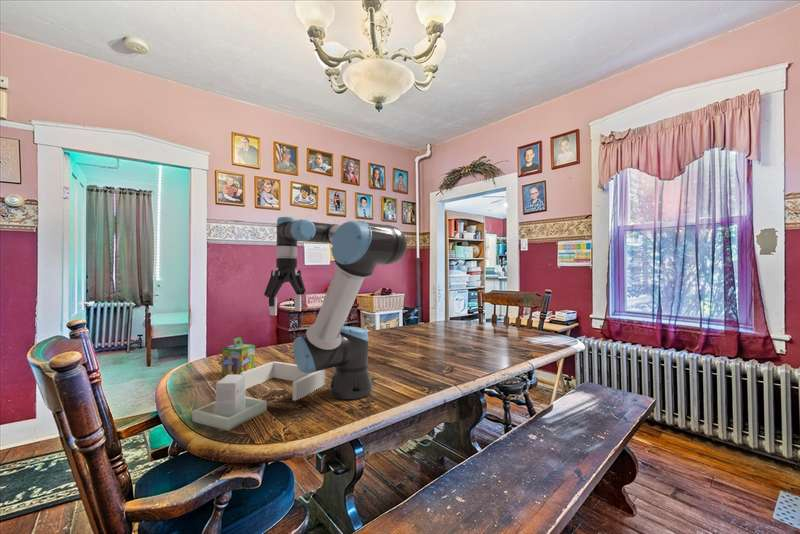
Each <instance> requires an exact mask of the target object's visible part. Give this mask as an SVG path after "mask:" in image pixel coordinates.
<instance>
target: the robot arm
mask: <svg viewBox="0 0 800 534" xmlns="http://www.w3.org/2000/svg"><path fill="white" fill-rule="evenodd" d="M298 242H305V243H307V242H308V243H324V244H330V245H332V246H331V250H330V251H331V255H332V257H333V259H334V260H333V262H334V264H335V270H334V273H333V277H332V278H331V280H330V281H331V282H330V284H329V286H328V288H327V292H326V294H325V296H324V300H323V301H322V304H321V305H320V306H321V307H320V309H319V312H318V314H317V316H316V319H315V322H314V323H313V324H311V325H309V327H308V328H307V329H306V331H305V334H304V336H298V337H296V338H295V340H294V342H293V347H292V349H293V351H292V352H293V358H294V361H295V364H296V365H297V366H298V368H299V369H300V371H302V372H303V373H311V372H313V373H314V372H317V371H321V370H325V371H326V370H328V369H333V368H334V373H333V376H332V379H331V383H330V385H329V394H330V396H331V397H333V398H334V399H340V400H345V399H353V400H359V399H358V398H360V399H363V397H364V398H366V397H369V396H370V395H371V394H372V393H371V392H373V383H372V378H371V376H370V373H369V366H368V365H369V342H370V341H369V332H368V330H366V329H365V328H362V327H357V326H347V325H345V323H346V321H347V318H348V317H349V314H350V312H351V310H352V307H353V305H354V303H355V300H356V298H357V296H358V294H359V291H360V289H361V288H362V284H363V282H364V280H365V279H366V278H369V277H371V276H373V275H372V274H373V272H374V271H375V268H376V267H377V265H392V264H395V263H397V262H399V261H400V260H401V259H402V258H403V257H404V256H405V254H406V252H407V250H408V249H407V248H408V241H407V238H406V236H405V234H404V232H403V231H402V230H401V229H399V228H398V227H396V226H393V225H391V224H390V225H389V224H380V223H372V222H365V221H363V220H357V221H356V220H352V221H351V220H350V221H349V220H348V221H346V222H343V223H342V224H338V223H337V224H336V223H325V222H318V221H311V220H309V219H301V218H300V219H297V218H296V217H293V216H279V217H278V218H277V220H276V257H277V258H276V260H275V261H276V262H275V263H276V268H277V269H278V270H275V269H273V270H271V271H270V278H269V280H268V283H267V285H266V289H265V291H264V294H263V296H265V297H266V298H268V307H269V316H277V315H278V297H276V296H277V295H278V293H279V291H280V289H281V288H282V286H283V284H285V283H289V284H290V285H291V287H292V289H293V291H294V292H295V294H294V312H296V311H297V312H301V311H302V302H303V300H302V299H303V296H304V294H305V293H306V292H307V291H306V287H305V283H304V280H303V278H302V271H301V270H300V269H296V268H297V267H298V258H297V257H298ZM370 393H371V394H370ZM369 394H370V395H369ZM365 396H366V397H365Z"/></svg>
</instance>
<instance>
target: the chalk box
mask: <svg viewBox="0 0 800 534" xmlns="http://www.w3.org/2000/svg"><path fill="white" fill-rule="evenodd" d="M238 341H239V343H237V342H238ZM221 349H222V350H221V351H222V355H221V356H222V360H221V361H222V363H221V364H222V367H221V369H222V370H221V376H224V377H225V376H227V375H240V373H242V372H244V371H247V370H250V369H253V368H256V367H255V366H256V345H255V344H248V343H243V340H242V337H236V338H233V344H230V345H228V346H225V347H222V348H221ZM224 377H223V378H224Z"/></svg>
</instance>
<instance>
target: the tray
mask: <svg viewBox="0 0 800 534" xmlns="http://www.w3.org/2000/svg"><path fill="white" fill-rule="evenodd" d="M267 402H268V401H267V400H264V399H260V398H255V397H250V396H246V395H245V408H244V409H243V410H242V411H241V412H239V413H237V414H235V415H233V416H231V417H229V418H228V417H224V416H220V415H216V400H215V401H212V402H210V403H208V404H205V405H203V406H201V407H198V408H196V409H193V410H192V411H191V412H192V413H191V414H192V415H191V418H192V419H191V420H192V421H191V422H192V423H197V424H199V425H200V424H201V425H205V426H207V427H213V428H215V429H219V430H222V429H223V431H227V432H229V431H230V430H232V429H234V428H237V427H238V426H240V425H242V424H244V423H246V422H247V421H248V422H249V421H250V420H252V419H254V418H255V417H257V416H259V415H261V414H263V413H265V412H267V411H268V410H267V409H268V408H267V405H268V403H267Z"/></svg>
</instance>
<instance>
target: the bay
mask: <svg viewBox="0 0 800 534" xmlns="http://www.w3.org/2000/svg"><path fill="white" fill-rule="evenodd" d="M240 375H246V390H248V389H250V388H252V387H254V385H255V386H257V385H259V384H261V383H264V382H266V381H268V380H271V379H273V378H276V379H280V380H286V381H292V401H294V400H295V401H294V402H297V401H299V400H300V398H301V399H302V398H304V397H306V396H308V395H309V393H310V394H312V393H313V392H315V391H317V390H318V388H319V389H320V388H322V387H324V386H326V369H325V370H321V371H317V372H314V373H313V372H311V373H303V372H302V371H300V369H299V368H298V366H297V364H296V363H295V364H294V363H290V362H289V363H288V362H280V361H275V360H274V361H270V362H267V363H265V364H262V365H259V366H256V367H255V368H253V369H250V370H247V371H244V372H242V373H240ZM323 385H324V386H323ZM316 389H317V390H316ZM314 390H315V391H314ZM307 394H308V395H307ZM298 399H299V400H298ZM296 400H297V401H296Z"/></svg>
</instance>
